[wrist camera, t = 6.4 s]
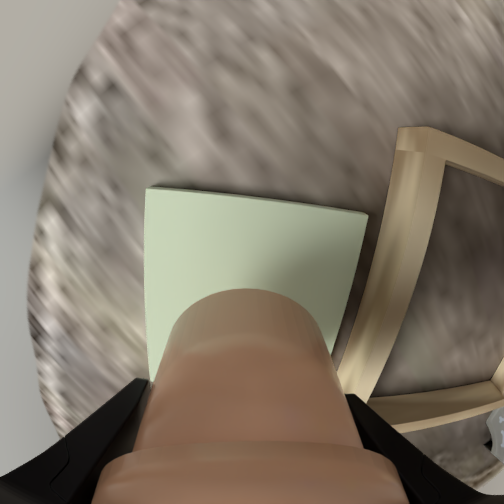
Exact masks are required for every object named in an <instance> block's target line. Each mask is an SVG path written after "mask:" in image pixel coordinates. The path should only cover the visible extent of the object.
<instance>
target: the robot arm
mask: <svg viewBox="0 0 504 504" xmlns="http://www.w3.org/2000/svg"><path fill="white" fill-rule="evenodd" d="M150 392H151V388H150V382H149V380H148V379H143V378H135V379H134V380H133V381H131V382H130V383H129V384H128V385H127V386H125V387H124V388H123V389H122V390H121V391H119V392H118V393H117V394H116V395H115V396H113V397H112V398H111V399H110V400H108V401H107V402H106V403H105V404H104V405H102V406H101V407H100V408H99V409H98V410H96V411H95V412H94V413H93V414H91V415H90V416H89V417H88V418H86V419H85V420H84V421H83V422H82V423H80V424H79V425H78V426H77V427H75V428H74V429H73V430H72V431H70V432H69V433H68V434H67V435H65V437H63V438H62V439H60V440H59V441H58V442H57V443H55V444H54V445H53V446H51V447H50V448H48V449H47V450H46V451H45V452H43V453H41V454H40V455H38V456H37V457H35V458H33V459H32V460H30V461H28V462H27V463H25V464H23V465H22V466H20V467H18V468H16V469H15V470H13V471H11V472H9V473H8V474H6V475H4V476H1V477H0V504H91V503H92V499H93V496H94V493H95V490H96V487H97V483H98V480H99V477H100V474H101V471H102V470H103V468H104V467H105V466H106V465H107V464H108V463H109V462H111V461H112V460H114V459H116V458H118V457H120V456H122V455H125V454H128V453H132V451H133V447H134V444H135V440H136V437H137V434H138V430H139V427H140V424H141V420H142V417H143V414H144V411H145V407H146V404H147V401H148V398H149V395H150ZM345 397H346V399H347V402H348V405H349V408H350V410H351V413H352V416H353V419H354V422H355V425H356V427H357V430H358V433H359V436H360V439H361V442H362V445H363V448H364V449H366V450H370V451H373V452H375V453H378V454H381V455H383V456H384V457H386V458H387V459H389V460H390V461H391V462H392V463H393V464H394V465H395V467H396V469H397V472H398V475H399V477H400V480H401V482H402V485H403V488H404V490H405V493H406V496H407V498H408V501H409V504H504V495H486V494H483V493H480V492H478V491H476V490H474V489H473V488H471V487H470V486H468V485H466V484H465V483H463V482H462V481H460V480H458V479H457V478H455V477H454V476H452V475H451V474H449V473H448V472H446V471H445V470H444V469H442V468H441V467H440V466H438V465H437V464H436V463H434V462H433V461H432V460H431V459H430V458H428V457H427V456H426V455H425V454H424V455H423V453H422V452H421V451H420V450H419V449H418V448H416V447H415V446H414V445H413V444H412V443H411V442H409V441H408V440H407V439H406V438H405V437H404V436H402V435H401V434H400V433H399V432H398V431H397V430H395V429H394V428H393V427H392V426H391V425H390V424H389V423H387V422H386V421H385V420H384V419H383V418H382V417H381V416H379V415H378V414H377V413H376V412H375V411H374V410H373V409H372V408H370V407H369V406H368V405H367V404H366V403H365V402H364V401H363V400H361V399H360V398H359V397H358V396H357V395H356V394H353V393H350V394H345Z"/></svg>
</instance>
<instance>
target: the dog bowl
mask: <svg viewBox="0 0 504 504" xmlns="http://www.w3.org/2000/svg"><path fill="white" fill-rule="evenodd" d="M486 424H487V426H488V428H489V430H490V433H491V437H492V442H493V444H489V445H485V444H484V446H485V447H486V448H487V449H488V450H489V451H490V452H491V453H492V454H493V455H494V456H496V457H497V458H498V459H499V460H500V461H501V462H502V463H503V464H504V406H503V407H500V408H498V409H495V410H493V411H492V413H491V414H490V416H489V418H488V419H487V421H486Z"/></svg>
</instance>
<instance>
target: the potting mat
mask: <svg viewBox="0 0 504 504" xmlns="http://www.w3.org/2000/svg"><path fill="white" fill-rule="evenodd" d="M367 220H368V215H367V214H365V213H363V212H358V211H352V210H346V209H339V208H333V207H327V206H320V205H313V204H306V203H299V202H292V201H285V200H277V199H269V198H262V197H253V196H245V195H236V194H227V193H218V192H208V191H198V190H187V189H176V188H164V187H151V186H150V187H148V188H146V197H145V222H144V293H145V318H146V336H147V350H148V362H149V373H150V381H152V382H154V379H155V376H156V373H157V370H158V367H159V364H160V361H161V358H162V355H163V352H164V349H165V346H166V344H167V341H168V338H169V335H170V332H171V330H172V328H173V325H174V324H175V322H176V321H177V319H178V318H179V316H180V315H181V314H182V313H183V312H184V311H185V310H186V309H187V308H189V307H190V306H191V305H192V304H194V303H195V302H197V301H199V300H200V299H202V298H204V297H207V296H209V295H211V294H214V293H218V292H221V291H226V290H231V289H242V288H249V289H261V290H267V291H271V292H275V293H278V294H281V295H283V296H286V297H288V298H290V299H292V300H293V301H295V302H297V303H298V304H300V305H301V306H302V307H304V308H305V309H306V310H307V311H308V312H309V313H310V314H311V315H312V316H313V318H314V319H315V321H316V322H317V324H318V326H319V328H320V330H321V332H322V335H323V338H324V340H325V343H326V345H327V348H328V351H329V353H330V356H331V353H332V350H333V346H334V343H335V340H336V337H337V334H338V331H339V328H340V324H341V321H342V318H343V314H344V311H345V308H346V304H347V301H348V297H349V293H350V290H351V286H352V282H353V279H354V275H355V271H356V267H357V263H358V259H359V255H360V251H361V247H362V242H363V238H364V234H365V229H366V225H367Z"/></svg>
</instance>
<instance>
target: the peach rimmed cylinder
mask: <svg viewBox="0 0 504 504" xmlns="http://www.w3.org/2000/svg"><path fill="white" fill-rule="evenodd" d="M91 504H409V501H408V498H407V496H406V493H405V490H404V488H403V485H402V482H401V480H400V477H399V475H398V472H397V469H396V467H395V465H394V464H393V463H392V462H391V461H390V460H389V459H387V458H386V457H384V456H383V455H381V454H378V453H375V452H373V451H370V450H366V449H364V448H363V445H362V442H361V439H360V436H359V433H358V430H357V427H356V425H355V422H354V419H353V416H352V413H351V410H350V408H349V405H348V402H347V399H346V397H345V394H344V391H343V388H342V386H341V383H340V380H339V377H338V375H337V372H336V369H335V367H334V364H333V361H332V359H331V356H330V353H329V351H328V348H327V345H326V343H325V340H324V338H323V335H322V332H321V330H320V328H319V326H318V324H317V322H316V321H315V319H314V318H313V316H312V315H311V314H310V313H309V312H308V311H307V310H306V309H305V308H304V307H302V306H301V305H300V304H298V303H297V302H295V301H293V300H292V299H290V298H288V297H286V296H283V295H281V294H278V293H275V292H271V291H267V290H261V289H249V288H242V289H231V290H226V291H221V292H218V293H214V294H211V295H209V296H207V297H204V298H202V299H200V300H199V301H197V302H195V303H194V304H192V305H191V306H190V307H189V308H187V309H186V310H185V311H184V312H183V313H182V314H181V315H180V316H179V318H178V319H177V321H176V322H175V324H174V325H173V328H172V330H171V332H170V335H169V338H168V341H167V344H166V346H165V349H164V352H163V355H162V358H161V361H160V364H159V367H158V370H157V373H156V376H155V379H154V382H153V385H152V389H151V392H150V395H149V398H148V401H147V404H146V407H145V411H144V414H143V417H142V420H141V424H140V427H139V430H138V434H137V437H136V440H135V444H134V447H133V451H132V453H128V454H125V455H122V456H120V457H118V458H116V459H114V460H112V461H111V462H109V463H108V464H107V465H106V466H105V467H104V468H103V470H102V471H101V474H100V477H99V480H98V483H97V487H96V490H95V493H94V496H93V499H92V503H91Z"/></svg>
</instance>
